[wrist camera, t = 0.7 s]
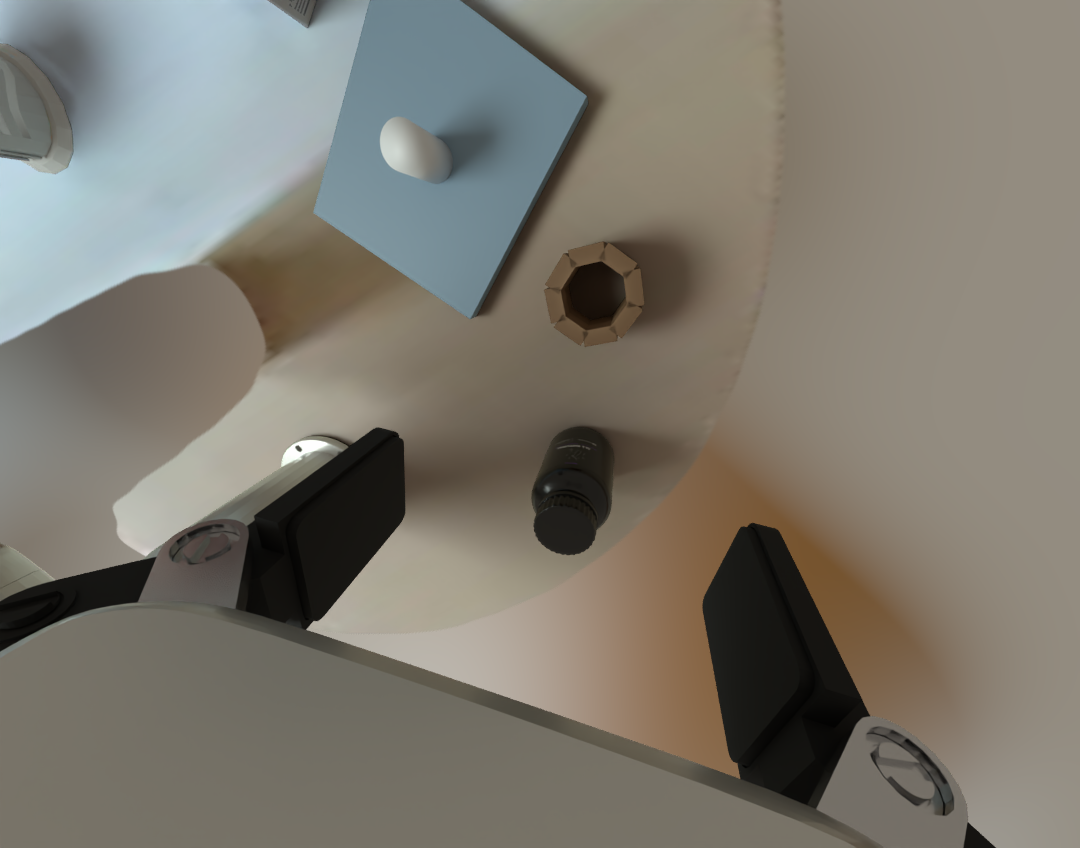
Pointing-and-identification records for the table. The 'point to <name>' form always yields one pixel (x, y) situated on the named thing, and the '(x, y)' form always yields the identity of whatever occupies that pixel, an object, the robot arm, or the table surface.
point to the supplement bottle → (573, 490)
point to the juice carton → (297, 9)
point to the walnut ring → (576, 322)
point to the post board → (470, 119)
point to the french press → (31, 115)
